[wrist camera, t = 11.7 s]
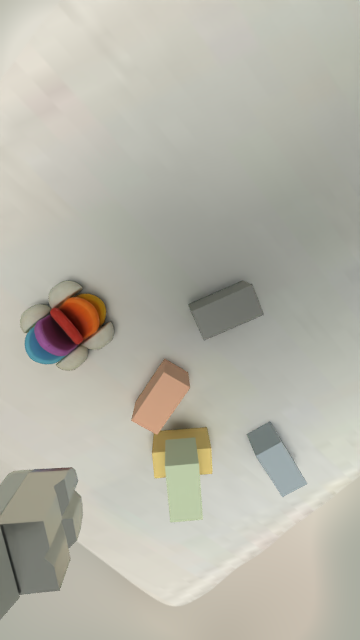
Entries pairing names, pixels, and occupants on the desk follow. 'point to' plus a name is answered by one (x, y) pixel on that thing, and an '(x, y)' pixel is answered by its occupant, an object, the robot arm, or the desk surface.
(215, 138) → the desk surface
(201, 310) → the charcoal brick
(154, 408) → the terracotta brick
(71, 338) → the multicolored fanned-prong toy
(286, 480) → the slate brick
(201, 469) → the ochre brick
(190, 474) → the sage brick
